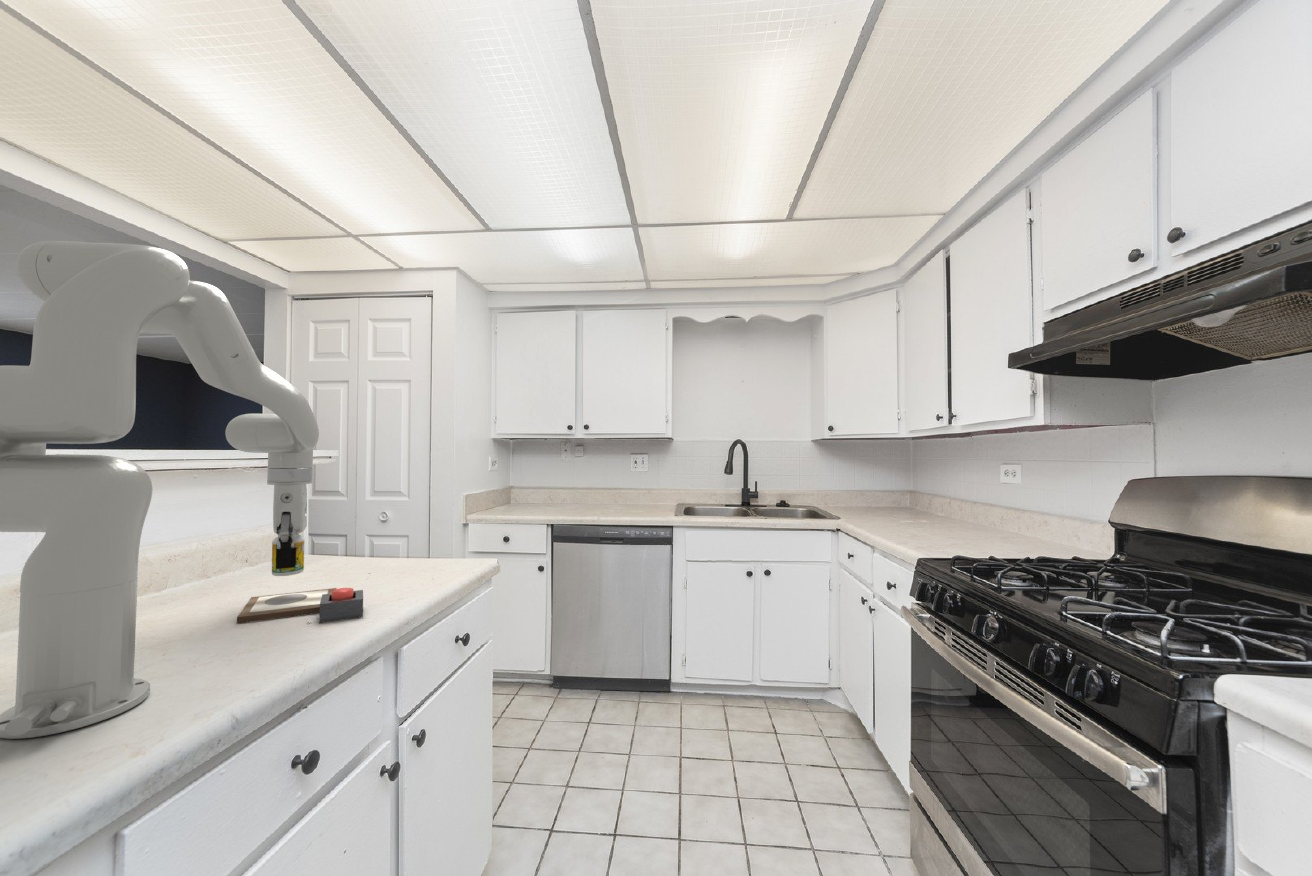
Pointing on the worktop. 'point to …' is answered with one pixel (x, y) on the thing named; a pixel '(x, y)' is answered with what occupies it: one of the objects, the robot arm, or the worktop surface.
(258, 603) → the brown bordered square board
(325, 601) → the button housing
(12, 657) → the worktop surface
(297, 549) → the supplement bottle
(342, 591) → the button
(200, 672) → the worktop surface
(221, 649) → the worktop surface
